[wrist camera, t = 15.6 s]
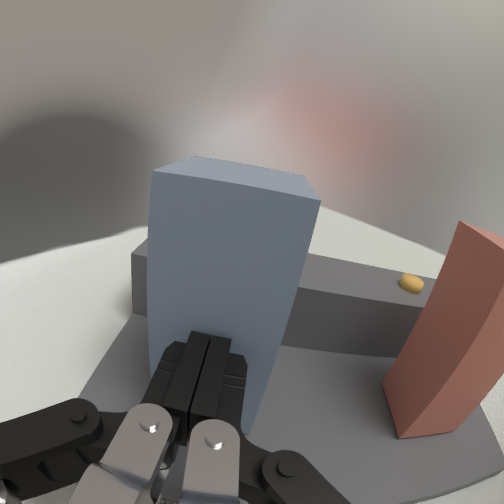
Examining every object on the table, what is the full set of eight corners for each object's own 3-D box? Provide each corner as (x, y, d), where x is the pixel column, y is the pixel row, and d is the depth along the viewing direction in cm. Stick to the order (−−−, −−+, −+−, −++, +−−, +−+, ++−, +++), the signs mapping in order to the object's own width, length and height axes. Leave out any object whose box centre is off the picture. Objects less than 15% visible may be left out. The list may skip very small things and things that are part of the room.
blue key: (255, 369, 17) (304, 175, 13) (249, 434, 13) (320, 200, 8) (178, 353, 17) (195, 156, 13) (154, 413, 13) (152, 170, 8)
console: (426, 328, 27) (452, 273, 24) (498, 473, 9) (562, 411, 7) (160, 283, 27) (164, 214, 24) (55, 455, 9) (1, 372, 7)
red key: (433, 382, 18) (508, 239, 13) (454, 430, 13) (557, 275, 8) (381, 382, 17) (459, 220, 13) (398, 438, 13) (515, 257, 8)
